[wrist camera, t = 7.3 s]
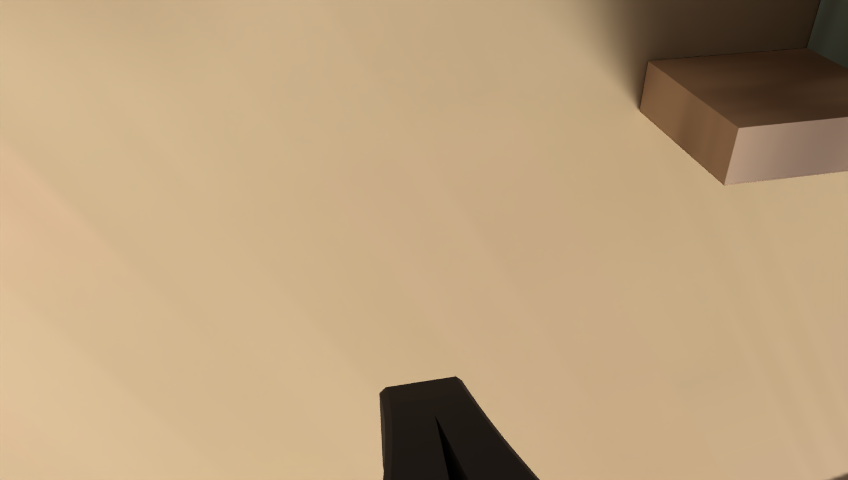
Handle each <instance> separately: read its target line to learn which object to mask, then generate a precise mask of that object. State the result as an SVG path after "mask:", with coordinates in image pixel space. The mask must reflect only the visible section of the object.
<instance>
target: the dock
mask: <svg viewBox="0 0 848 480" xmlns="http://www.w3.org/2000/svg"><path fill="white" fill-rule="evenodd" d="M640 112H641V113H642V114H644V115H645V116H646V117H647V118H648V119H649V120H650V121H651V122H653V123H654V124H655V125H656V126H657V127H658V128H659V129H661V130H662V131H663V132H664V133H665V134H666V135H667V136H669V137H670V138H671V139H672V140H673V141H674V142H675V143H676V144H678V145H679V146H680V147H681V148H682V149H683V150H684V151H686V152H687V153H688V154H689V155H690V156H691V157H692V158H694V159H695V160H696V161H697V162H698V163H699V164H700V165H701V166H703V167H704V168H705V169H706V170H707V171H708V172H709V173H711V174H712V175H713V176H714V177H715V178H716V179H717V180H719V181H720V182H721V183H722V184H723V185H732V184H740V183H749V182H757V181H766V180H775V179H783V178H792V177H800V176H809V175H818V174H826V173H835V172H843V171H848V0H821V2H820V5H819V8H818V12H817V15H816V19H815V22H814V26H813V29H812V32H811V36H810V39H809V43H808V46H807V48H801V49H789V50H776V51H764V52H752V53H740V54H727V55H715V56H703V57H690V58H678V59H666V60H654V61H648V65H647V71H646V77H645V82H644V88H643V94H642V100H641V105H640Z"/></svg>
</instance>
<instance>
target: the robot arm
mask: <svg viewBox="0 0 848 480" xmlns="http://www.w3.org/2000/svg"><path fill="white" fill-rule="evenodd" d="M380 413H381V434H382V455H383V468H384V476H383V480H539V479H538V477H537V476H536V475H535V474H534V473H533V472H532V471H531V469H530V468H529V467H528V466H527V465H526V464H525V463H524V461H523V460H522V459H521V458H520V457H519V456H518V454H517V453H516V452H515V451H514V450H513V449H512V447H511V446H510V445H509V444H508V443H507V441H506V440H505V439H504V438H503V436H502V435H501V434H500V433H499V431H498V430H497V429H496V427H495V426H494V425H493V424H492V422H491V421H490V420H489V418H488V417H487V416H486V414H485V413H484V412H483V410H482V409H481V408H480V406H479V405H478V404H477V402H476V401H475V399H474V398H473V396H472V395H471V394H470V392H469V391H468V389H467V388H466V386H465V385H464V383H463V382H462V380H460V379H459V378H457V377H449V378H443V379H436V380H430V381H424V382H417V383H411V384H404V385H398V386H392V387H386V388H385V389H384V390H383V391H382V392H380Z"/></svg>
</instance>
